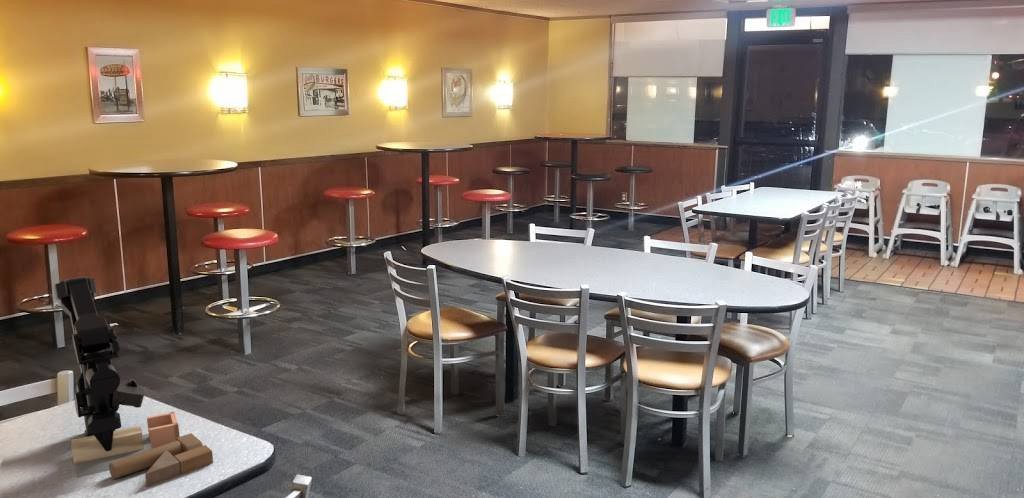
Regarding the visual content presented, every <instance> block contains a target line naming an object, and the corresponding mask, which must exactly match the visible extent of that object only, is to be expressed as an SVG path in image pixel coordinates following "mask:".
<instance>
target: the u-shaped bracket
mask: <svg viewBox="0 0 1024 498" xmlns="http://www.w3.org/2000/svg"><path fill="white" fill-rule="evenodd" d="M146 424H147V432H148V434H149V439H150V440H151V448H152V449H153V448H156V447H159V446H162V445H165V444H168V443H171V442H174V441H176V438H178V437H181V436H180V428H179V422H178V419H177V416H176V412H175V411H171V412H166V413H161V414H155V415H151V416H147V417H146Z"/></svg>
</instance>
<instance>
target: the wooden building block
mask: <svg viewBox="0 0 1024 498" xmlns="http://www.w3.org/2000/svg"><path fill="white" fill-rule="evenodd" d="M142 435H143V431H142V426H141V425H139V426H134V427H128V428H124V429H117V430H116V431H114V432H113V441H112V450H111V451H105V449H104V448H103V447H102V445H101V444H100V443H99V441H98V440H97V439H96V437H95V436H94V435H93V436H88V437H85V436H83V437H79V438H75V439H71V442H70V443H71V447H70V448H71V454H72V461H73V465H75V464H76V463H80V462H85V461H90V460H94V459H99V458H104V457H108V456H113V455H117V454H122V453H127V452H131V451H136V450H140V449H144V445H143V437H142ZM76 465H77V464H76Z"/></svg>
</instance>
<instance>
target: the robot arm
mask: <svg viewBox="0 0 1024 498" xmlns="http://www.w3.org/2000/svg"><path fill="white" fill-rule="evenodd" d="M53 289H54V291H53V292H54V296H55V300H56V301H59V305H60V309H62V311H64V313H65V314H67V315H68V316H69V318H70V323H71V327H72V333H73V334H72V335H71V336H72V343H73V344H72V345H73V347H74V353H75V356H76V357H75V358H76V361H77V363H78V366H79V368H80V376H79V378H78V381H77V382H76V383H77V384H76V392H74V407H75V412H76V414H77V417H78V418H82V417H83V418H84V419H83V420H84V425H85V430H84V437H88V436H93V435H94V436H95V437H96V439H97V440H98V441H99V443H100V444H101V445H102V447H103V448H104V449H105V451H111V450H112V441H113V432H114V431H117V430H120V429H121V428H122V421H121V413H119V412H118V410H119V408H120V405H121V406H127V407H133V408H139V409H140V408H141V407H142V404H143V400H144V398H145V390H144V388H143V387H142V386H138V384H137V380H135V379H128V381H126V383H124V384H121V376H120V374H118V372H117V370H116V369H115V367H114V365H113V363H112V359H115V358H119V353H118V352H120V350H121V349H120V344H119V341H118V338H117V334H116V331H114V329H113V328H112V327H109V323H108V322H107V319H106V318H104V317H102V316H100V315H99V314H98V311H97V308H96V304H95V300H94V299H95V297H94V295H97V286H96V280H95V278H93V277H91V278H90V277H88V276H81V277H74V278H67V279H60V280H58V283H54V286H53ZM120 384H121V385H120Z"/></svg>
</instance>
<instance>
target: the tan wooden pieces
mask: <svg viewBox="0 0 1024 498" xmlns="http://www.w3.org/2000/svg"><path fill="white" fill-rule="evenodd" d="M213 455H214V454H213V450H212V449H211V448H210V447H208V446H207V445H205V444H204V445H203V442H202V441H201V440H200V438H198V437H197V436H196V435H194V434H193V433H192V432H191V433H187V434H185V435H182V436H180V437H178V438H176V441H174V442H171V443H168V444H165V445H162V446H159V447H156V448H153V449H150V450H147V451H144V452H140V453H137V454H134V455H131V456H128V457H125V458H122V459H119V460H116V461H113V462H111V463H109V470H108V471H109V473H110V476H111V478H112V479H114V480H115V479H119V478H121V477H125V476H127V475H130V474H133V473H136V472H139V471H141V470H142V471H143V470H145V469H148V470H147V472H145V474H144V475H145V483H146V484H145V485H146V488H147V487H151V486H155V485H156V484H159V483H162V482H164V481H167V480H170V479H173V478H175V477H179V476H181V475H185V474H188V473H190V472H193V471H195V470H198V469H201V468H203V467H206V466H208V465H211V464H214V460H213V458H214V457H213Z"/></svg>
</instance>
